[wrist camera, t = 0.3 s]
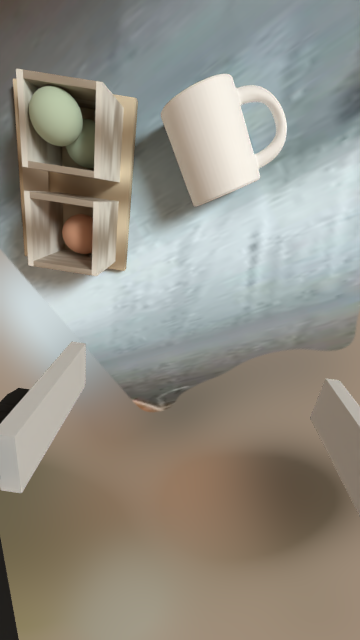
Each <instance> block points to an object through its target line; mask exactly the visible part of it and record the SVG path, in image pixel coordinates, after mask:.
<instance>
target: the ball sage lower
mask: <svg viewBox="0 0 360 640" xmlns="http://www.w3.org/2000/svg"><path fill="white" fill-rule="evenodd" d="M66 149H67V151H68V154H69V155H70V157H71V158H72V159H73V160H74V161H75V162H76V163H77V164H78V165H80V166H82V167H85V168H94V155H95V121H93V120H90V119H83V127H82V131H81V134H80V136H79V138H78V139H77V140H76V141H75V142H74V143H72V144H70V145H68V146H66Z"/></svg>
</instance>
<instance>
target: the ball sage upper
mask: <svg viewBox="0 0 360 640" xmlns="http://www.w3.org/2000/svg"><path fill="white" fill-rule="evenodd" d="M29 115H30V120H31V122H32V125H33V127H34V129H35V130H36V132H37V133H38V134H39V135H40V136H41V137H42V138H43V139H44V140H45V141H47V142H48V143H50V144H53V145H56V146H68V145H70V144H72V143H74V142H75V141H76V140H77V139H78V138H79V136H80V134H81V131H82V127H83V118H82V113H81V110H80V108H79V106H78V104H77V102H76V101H75V99H74V98H73V97H72V96H71V95H70V94H69V93H68V92H66V91H65V90H63V89H61V88H59V87H56V86H44V87H41V88H39V89H38V90H37V91H36V92H35V93H34V94H33V95H32V97H31V100H30V103H29Z"/></svg>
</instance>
